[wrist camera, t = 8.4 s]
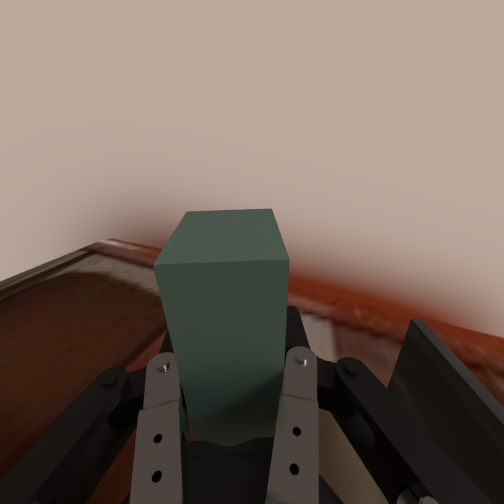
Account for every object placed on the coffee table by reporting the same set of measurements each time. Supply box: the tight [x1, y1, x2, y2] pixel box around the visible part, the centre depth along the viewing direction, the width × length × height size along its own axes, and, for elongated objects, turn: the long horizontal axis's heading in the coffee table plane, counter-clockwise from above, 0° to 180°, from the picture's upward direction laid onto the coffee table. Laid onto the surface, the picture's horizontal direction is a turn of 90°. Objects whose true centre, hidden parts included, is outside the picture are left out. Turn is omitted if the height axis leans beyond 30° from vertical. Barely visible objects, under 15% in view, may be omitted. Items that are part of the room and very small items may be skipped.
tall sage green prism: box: [153, 209, 289, 447], centre depth 13 cm, size 4×5×13 cm
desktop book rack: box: [318, 319, 504, 504], centre depth 18 cm, size 14×12×14 cm
